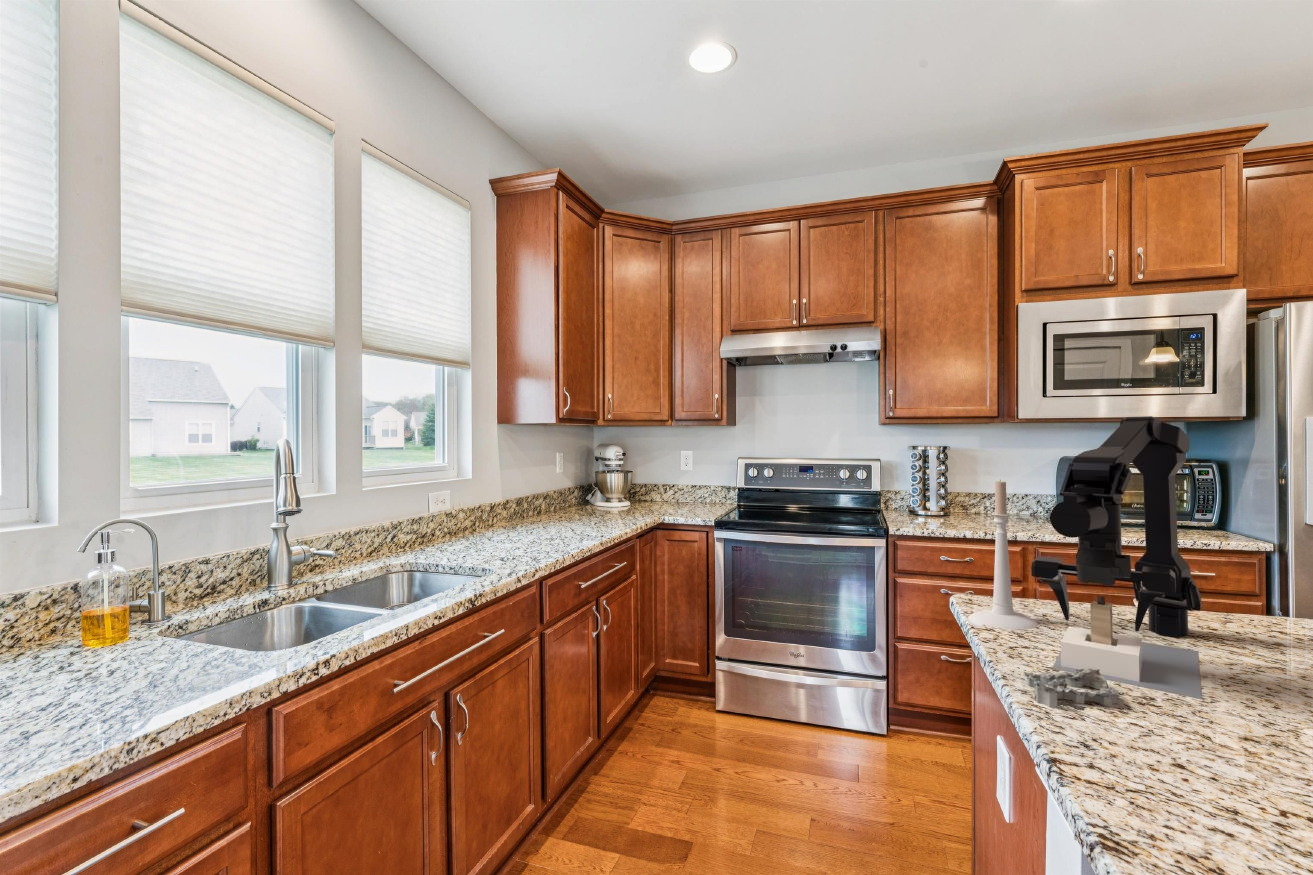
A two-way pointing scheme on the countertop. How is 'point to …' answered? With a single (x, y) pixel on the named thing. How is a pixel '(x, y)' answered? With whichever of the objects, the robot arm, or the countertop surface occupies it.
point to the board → (1162, 670)
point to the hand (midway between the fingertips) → (1101, 625)
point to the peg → (1101, 621)
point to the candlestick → (1001, 577)
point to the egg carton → (1076, 680)
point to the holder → (1102, 654)
